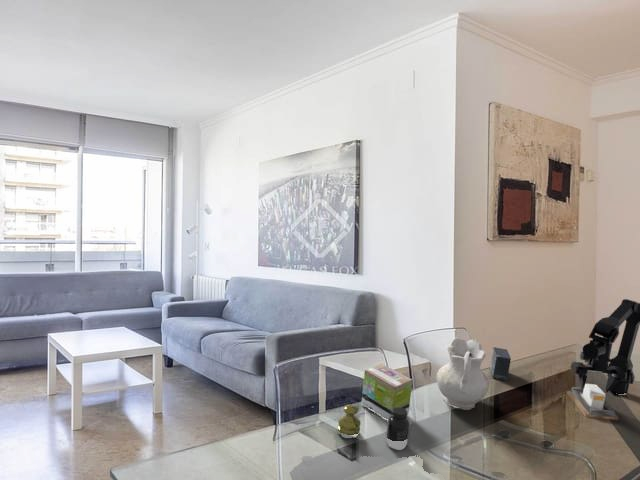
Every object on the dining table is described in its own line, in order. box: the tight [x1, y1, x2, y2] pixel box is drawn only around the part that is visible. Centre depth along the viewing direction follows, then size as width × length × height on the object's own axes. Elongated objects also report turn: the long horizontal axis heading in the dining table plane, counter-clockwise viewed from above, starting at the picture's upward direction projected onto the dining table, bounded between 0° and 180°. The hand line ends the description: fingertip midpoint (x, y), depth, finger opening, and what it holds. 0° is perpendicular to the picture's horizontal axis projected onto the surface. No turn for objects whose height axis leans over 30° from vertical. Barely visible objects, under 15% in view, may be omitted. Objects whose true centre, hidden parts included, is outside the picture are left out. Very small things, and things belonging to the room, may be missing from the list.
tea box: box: [361, 363, 413, 419], centre depth 179 cm, size 15×10×15 cm, turn 42°
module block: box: [582, 383, 607, 409], centre depth 195 cm, size 4×8×6 cm, turn 175°
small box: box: [489, 347, 512, 381], centre depth 217 cm, size 11×6×10 cm, turn 168°
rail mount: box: [566, 386, 620, 421], centre depth 195 cm, size 12×18×3 cm, turn 175°
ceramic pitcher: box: [436, 336, 490, 407], centre depth 187 cm, size 22×20×25 cm
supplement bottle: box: [386, 407, 410, 441], centre depth 159 cm, size 7×7×12 cm
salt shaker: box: [337, 404, 362, 435], centre depth 164 cm, size 7×7×10 cm
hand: (594, 390), depth 194 cm, fingers open, 9 cm apart
